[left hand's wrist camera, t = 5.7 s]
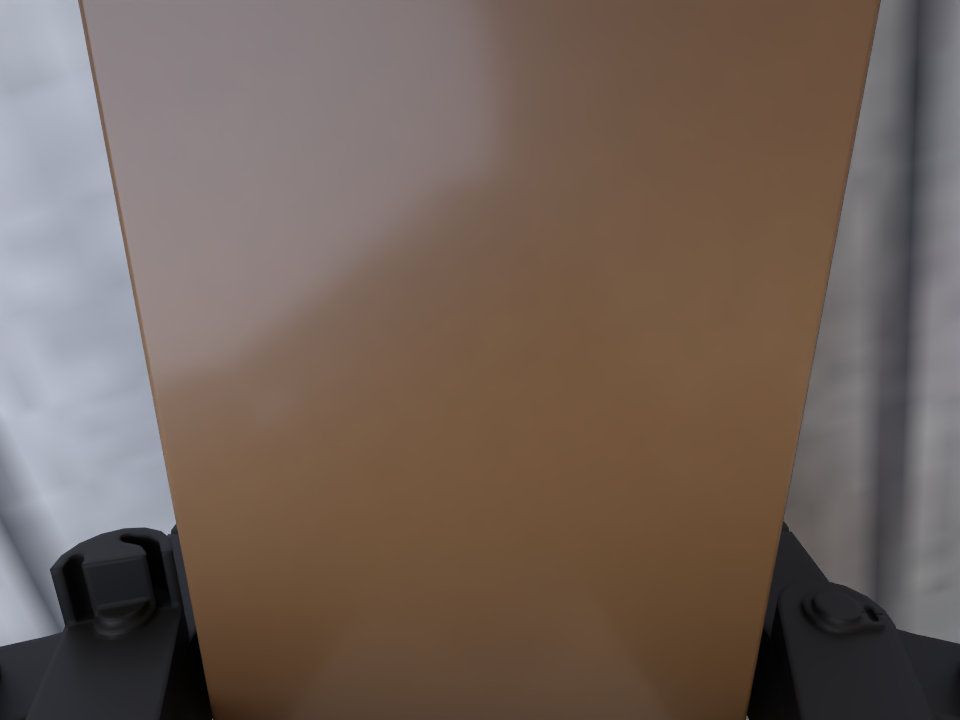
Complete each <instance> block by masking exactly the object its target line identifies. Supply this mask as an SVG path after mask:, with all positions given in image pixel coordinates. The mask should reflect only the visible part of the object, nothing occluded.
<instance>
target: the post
mask: <svg viewBox="0 0 960 720" xmlns="http://www.w3.org/2000/svg"><path fill="white" fill-rule="evenodd" d="M78 2H79V7H80V12H81V18H82V23H83V28H84V34H85V39H86V44H87V50H88V55H89V60H90V66H91V71H92V76H93V82H94V87H95V92H96V98H97V103H98V108H99V113H100V119H101V124H102V129H103V135H104V140H105V145H106V151H107V156H108V161H109V167H110V172H111V177H112V183H113V188H114V193H115V199H116V204H117V209H118V215H119V220H120V225H121V231H122V236H123V241H124V247H125V252H126V257H127V263H128V268H129V273H130V279H131V284H132V289H133V295H134V300H135V305H136V311H137V316H138V321H139V327H140V332H141V337H142V343H143V348H144V353H145V359H146V364H147V369H148V375H149V380H150V385H151V391H152V396H153V401H154V407H155V412H156V417H157V423H158V428H159V433H160V439H161V444H162V449H163V455H164V460H165V465H166V471H167V476H168V481H169V487H170V492H171V497H172V503H173V508H174V513H175V519H176V524H177V529H178V535H179V540H180V545H181V551H182V556H183V561H184V567H185V572H186V577H187V583H188V588H189V593H190V599H191V604H192V609H193V614H194V620H195V625H196V630H197V636H198V641H199V646H200V652H201V657H202V662H203V668H204V673H205V678H206V684H207V689H208V694H209V700H210V705H211V710H212V716H213V720H746V716H747V711H748V705H749V700H750V695H751V689H752V684H753V679H754V674H755V668H756V663H757V658H758V652H759V647H760V642H761V636H762V631H763V626H764V620H765V615H766V610H767V604H768V599H769V594H770V588H771V583H772V578H773V572H774V567H775V562H776V556H777V551H778V546H779V540H780V535H781V530H782V524H783V519H784V514H785V508H786V503H787V498H788V492H789V487H790V482H791V476H792V471H793V466H794V460H795V455H796V450H797V444H798V439H799V434H800V428H801V423H802V418H803V412H804V407H805V402H806V396H807V391H808V386H809V380H810V375H811V370H812V364H813V359H814V354H815V348H816V343H817V338H818V332H819V327H820V322H821V316H822V311H823V306H824V300H825V295H826V290H827V284H828V279H829V274H830V268H831V263H832V258H833V252H834V247H835V242H836V236H837V231H838V226H839V221H840V215H841V210H842V205H843V199H844V194H845V189H846V183H847V178H848V173H849V167H850V162H851V157H852V151H853V146H854V141H855V135H856V130H857V125H858V119H859V114H860V109H861V103H862V98H863V93H864V87H865V82H866V77H867V71H868V66H869V61H870V55H871V50H872V45H873V39H874V34H875V29H876V23H877V18H878V13H879V7H880V2H881V0H78Z"/></svg>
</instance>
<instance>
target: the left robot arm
mask: <svg viewBox="0 0 960 720" xmlns="http://www.w3.org/2000/svg"><path fill="white" fill-rule="evenodd" d="M50 572H51V575H52V579H53V583H54V586H55V590H56V593H57V597H58V601H59V604H60V608H61V612H62V615H63V619H64V623H65V628H64V630H63V632H61V633H58V634H54V635H51V636H47V637H42V638H38V639H33V640H29V641H24V642H20V643H15V644H11V645H6V646H2V647H0V720H212V719H213V716H212V710H211V705H210V700H209V694H208V689H207V684H206V678H205V673H204V668H203V662H202V657H201V652H200V646H199V641H198V636H197V630H196V625H195V620H194V614H193V609H192V604H191V599H190V593H189V588H188V583H187V577H186V572H185V567H184V561H183V556H182V551H181V545H180V540H179V535H178V529H177V524H176V525H175V526H174V527H173V529H172V530H171V534H168V535H167V536H166V535H165V534H164V533H163V532H162V531H158V530H154V529H149V528H125V529H120V530H116V531H112V532H108V533H103V534H100V535H98V536H95V537H93V538H91V539H88V540H86V541H84V542H81V543H79V544H78V545H76V546H75V547H73V548H72V549H70V550H69V551H67V552H66V553H65V554H63V555H62V556H61V557H60V558H59V559H58V560H57V561H56V563H55V564H54V565H53V566H52V568H51V569H50ZM747 716H748V718H749V720H960V644H958V643H953V642H949V641H944V640H940V639H935V638H930V637H926V636H921V635H917V634H912V633H909V632H905V631H902V630H898V629H896V626H895V624H894V623H893V622H892V620H891V619H890V617H889V616H888V615H887V613H886V612H885V610H884V609H882V608H881V607H880V606H878V605H877V604H876V603H875V602H873V601H872V600H871V599H870V598H868V597H867V596H865V595H863V594H861V593H859V592H857V591H855V590H852V589H850V588H848V587H846V586H843V585H839V584H835V583H832V582H829V581H828V580H827V578H826V577H825V576H824V574H823V573H822V572H821V570H820V569H819V568H818V566H817V565H816V564H815V562H814V561H813V560H812V558H811V557H810V556H809V554H808V553H807V552H806V550H805V549H804V548H803V546H802V545H801V544H800V542H799V541H798V540H797V538H796V537H795V536H794V534H793V533H792V532H789V528H788V526H787V525H786V524H785V522H784V521H783V524H782V530H781V535H780V540H779V546H778V551H777V556H776V562H775V567H774V572H773V578H772V583H771V588H770V594H769V599H768V604H767V610H766V615H765V620H764V626H763V631H762V636H761V642H760V647H759V652H758V658H757V663H756V668H755V674H754V679H753V684H752V689H751V695H750V700H749V705H748V711H747Z"/></svg>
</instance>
